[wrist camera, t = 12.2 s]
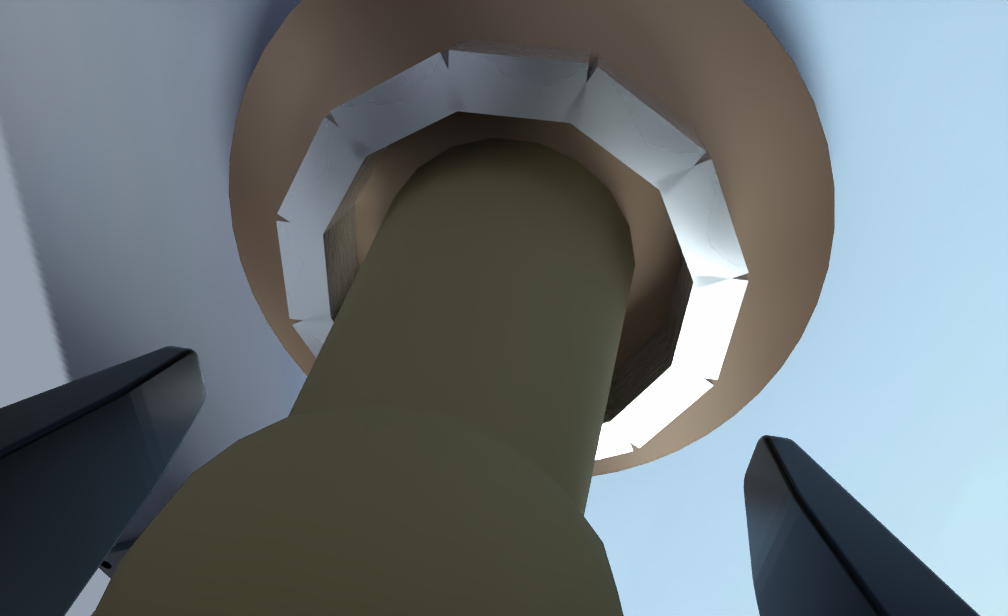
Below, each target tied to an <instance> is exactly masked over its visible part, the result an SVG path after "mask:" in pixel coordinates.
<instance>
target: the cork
mask: <svg viewBox="0 0 1008 616" xmlns="http://www.w3.org/2000/svg"><path fill="white" fill-rule="evenodd" d="M634 269H635V259H634V252H633V246H632V239H631V233H630V226H629V225H628V223H627V221H626V219H625V217H624V215H623V213H622V212H621V210H620V208H619V206H618V204H617V202H616V201H615V199H614V197H613V195H612V193H611V191H610V190H609V189H608V188H607V187H606V186H605V185H604V184H603V183H601V182H600V181H599V180H598V179H597V178H596V177H595V176H594V175H593V174H592V173H591V172H589V171H588V170H587V169H586V168H585V167H584V166H583V165H582V164H581V163H580V162H579V161H577V160H575V159H573V158H570V157H568V156H566V155H564V154H562V153H559V152H557V151H555V150H553V149H551V148H548V147H546V146H544V145H542V144H540V143H537V142H528V141H519V140H510V139H500V138H490V139H485V140H481V141H476V142H471V143H467V144H462V145H458V146H453V147H451V148H449V149H447V150H446V151H444V152H442V153H441V154H439V155H438V156H436V157H434V158H433V159H431V160H430V161H428V162H426V163H425V164H423V165H421V166H420V167H418V168H417V169H416V170H415V172H414V173H413V174H412V176H411V177H410V178H409V179H408V181H407V182H406V183H405V185H404V186H403V187H402V188H401V190H400V191H399V192H398V193H397V195H396V196H395V197H394V199H393V201H392V203H391V205H390V207H389V209H388V211H387V214H386V216H385V218H384V220H383V222H382V224H381V226H380V228H379V230H378V232H377V234H376V236H375V238H374V240H373V242H372V244H371V247H370V249H369V251H368V253H367V255H366V257H365V259H364V261H363V263H362V265H361V267H360V269H359V271H358V273H357V275H356V278H355V280H354V282H353V284H352V286H351V288H350V290H349V292H348V294H347V296H346V298H345V300H344V302H343V304H342V306H341V309H340V311H339V313H338V315H337V317H336V319H335V321H334V323H333V325H332V327H331V329H330V331H329V333H328V335H327V337H326V339H325V342H324V344H323V346H322V348H321V350H320V352H319V354H318V356H317V358H316V360H315V362H314V364H313V366H312V368H311V370H310V373H309V375H308V377H307V379H306V381H305V383H304V385H303V387H302V389H301V391H300V393H299V395H298V397H297V399H296V401H295V404H294V406H293V408H292V410H291V412H290V414H289V416H288V417H287V418H285V419H283V420H280V421H278V422H276V423H274V424H272V425H270V426H267V427H265V428H263V429H261V430H259V431H257V432H255V433H252V434H250V435H248V436H246V437H244V438H242V439H240V440H238V441H236V442H235V443H234V444H232V445H231V446H230V447H228V448H227V449H225V450H224V451H223V452H221V453H220V454H218V455H217V456H216V457H214V458H213V459H211V460H210V461H209V462H207V463H206V464H205V465H203V466H202V467H200V468H199V469H198V470H196V471H195V472H193V473H192V475H191V476H190V477H189V478H188V479H187V480H186V482H185V483H184V484H183V485H182V486H181V488H180V489H179V490H178V491H177V492H176V493H175V495H174V496H173V497H172V498H171V499H170V500H169V502H168V503H167V504H166V505H165V506H164V508H163V509H162V510H161V511H160V512H159V513H158V515H157V516H156V517H155V518H154V519H153V520H152V522H151V523H150V524H149V525H148V527H147V528H146V529H145V530H144V532H143V533H142V534H141V535H140V537H139V538H138V539H137V540H136V542H135V543H134V544H133V545H132V547H131V548H130V549H129V550H128V552H127V553H126V554H125V555H124V556H123V558H122V559H121V560H120V562H119V564H118V566H117V568H116V570H115V572H114V574H113V576H112V578H111V580H110V582H109V584H108V586H107V588H106V590H105V592H104V594H103V596H102V598H101V600H100V602H99V604H98V606H97V608H96V610H95V612H94V614H93V616H623V612H622V608H621V603H620V599H619V595H618V591H617V588H616V585H615V581H614V578H613V574H612V571H611V568H610V564H609V561H608V558H607V554H606V551H605V548H604V544H603V542H602V541H601V539H600V538H599V537H598V535H597V534H596V532H595V531H594V530H593V528H592V527H591V526H590V524H589V523H588V521H587V520H586V519H585V517H584V512H585V507H586V502H587V497H588V493H589V488H590V483H591V478H592V473H593V468H594V463H595V459H596V454H597V449H598V444H599V439H600V434H601V429H602V424H603V420H604V415H605V410H606V405H607V400H608V395H609V390H610V386H611V381H612V376H613V371H614V366H615V361H616V356H617V351H618V347H619V342H620V337H621V332H622V327H623V322H624V317H625V312H626V308H627V303H628V298H629V293H630V288H631V283H632V278H633V273H634Z"/></svg>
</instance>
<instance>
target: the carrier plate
mask: <svg viewBox="0 0 1008 616" xmlns="http://www.w3.org/2000/svg"><path fill="white" fill-rule="evenodd" d="M469 39H472V40H483V41H493V42H504V43H515V44H525V45H536V46H547V47H558V48H568V49H579V50H590V51H591V54H590V61H589V67H590V66H591V64H592V63H593V61H594V60H595V59H596V57H597V56H598V54H600V55H601V56H602V57H604V58H605V59H606V60H607V61H609V62H610V63H611V64H613V65H614V66H615V67H616V68H618V69H619V70H620V71H622V72H623V73H624V74H625V75H627V76H628V77H629V78H630V79H632V80H633V81H634V82H636V83H637V84H638V85H639V86H641V87H642V88H643V89H645V90H646V91H647V92H648V93H650V94H651V95H652V96H653V97H655V98H656V99H657V100H659V101H660V102H661V103H662V104H664V105H665V106H666V107H668V108H669V109H670V110H671V111H673V112H674V113H675V114H676V115H678V116H679V117H680V118H682V119H683V120H684V121H685V122H687V123H688V124H689V125H690V126H692V127H693V128H694V130H695V132H696V133H697V135H699V137H700V139H701V141H702V143H703V144H704V146H705V148H706V150H707V152H708V153H709V155H710V157H711V159H712V162H713V165H714V168H715V171H716V174H717V177H718V180H719V183H720V187H721V190H722V193H723V196H724V199H725V202H726V205H727V208H728V211H729V214H730V217H731V220H732V223H733V227H734V230H735V233H736V236H737V239H738V242H739V245H740V248H741V251H742V254H743V257H744V260H745V264H746V267H747V270H748V273H747V274H746V276H747V278H748V284H747V287H746V290H745V293H744V297H743V300H742V303H741V306H740V309H739V312H738V316H737V319H736V322H735V325H734V328H733V331H732V334H731V338H730V341H729V344H728V347H727V350H726V353H725V357H724V360H723V363H722V366H721V369H720V372H719V376H718V379H717V380H716V379H712V382H713V386H712V387H711V388H710V389H708V390H707V391H706V392H705V393H704V394H702V395H701V396H700V397H699V398H698V399H697V400H695V401H694V402H693V403H692V404H691V405H689V406H688V407H687V408H686V409H685V410H684V411H682V412H681V413H680V414H679V415H678V416H676V417H675V418H674V419H673V420H672V421H671V422H669V423H668V424H667V425H666V426H665V427H663V428H662V429H661V430H660V431H659V432H658V433H656V434H655V435H654V436H653V437H652V438H650V439H649V440H648V441H647V442H646V443H645V444H643V445H642V446H641V447H640V448H638V447H637V446H635V445H634V444H633V451H631V452H627V453H622V454H618V455H614V456H610V457H606V458H602V459H598V460H595V463H594V468H593V473H592V476H596V475H602V474H607V473H613V472H618V471H621V470H625V469H628V468H632V467H635V466H639V465H642V464H646V463H649V462H651V461H654V460H656V459H659V458H661V457H664V456H666V455H669V454H671V453H673V452H676V451H678V450H680V449H682V448H684V447H686V446H687V445H689V444H691V443H693V442H695V441H697V440H699V439H700V438H702V437H704V436H706V435H707V434H709V433H710V432H712V431H713V430H715V429H716V428H717V427H719V426H720V425H722V424H723V423H725V422H726V421H727V420H729V419H730V418H732V417H733V416H734V415H735V414H737V413H738V412H739V411H740V410H741V409H742V408H743V407H744V406H745V405H747V404H748V403H749V402H750V401H751V400H752V399H753V398H754V397H755V396H757V395H758V394H759V393H760V392H761V390H762V389H763V388H764V387H765V386H766V385H767V383H768V382H769V381H770V380H771V379H772V378H773V377H774V375H775V374H776V373H777V372H778V371H779V370H780V368H781V367H782V366H783V364H784V363H785V361H786V360H787V358H788V357H789V355H790V354H791V352H792V351H793V349H794V348H795V346H796V344H797V343H798V341H799V340H800V338H801V337H802V335H803V333H804V330H805V328H806V326H807V324H808V322H809V320H810V318H811V316H812V314H813V311H814V309H815V307H816V305H817V303H818V299H819V296H820V293H821V290H822V286H823V283H824V280H825V277H826V274H827V270H828V267H829V260H830V254H831V247H832V241H833V234H834V181H833V175H832V169H831V162H830V156H829V150H828V144H827V141H826V138H825V135H824V132H823V129H822V125H821V122H820V119H819V116H818V113H817V110H816V107H815V104H814V101H813V99H812V97H811V95H810V93H809V91H808V89H807V87H806V86H805V84H804V82H803V80H802V78H801V76H800V74H799V72H798V70H797V68H796V66H795V64H794V62H793V60H792V59H791V57H790V56H789V55H788V53H787V52H786V51H785V49H784V48H783V47H782V45H781V44H780V42H779V41H778V40H777V38H776V37H775V36H774V34H773V33H772V31H771V30H770V29H769V27H768V26H767V25H766V23H765V22H764V21H763V20H762V19H761V18H760V17H759V16H758V15H757V14H756V13H755V12H754V11H753V10H752V9H751V8H750V7H749V6H748V5H747V4H746V3H745V2H744V1H743V0H301V1H300V3H299V4H298V5H297V6H296V7H295V8H294V9H293V10H292V11H291V12H290V13H289V14H288V15H287V17H286V18H285V20H284V21H283V23H282V24H281V25H280V27H279V28H278V30H277V31H276V33H275V34H274V36H273V37H272V38H271V40H270V41H269V43H268V44H267V46H266V47H265V49H264V51H263V53H262V55H261V57H260V59H259V61H258V63H257V65H256V67H255V69H254V71H253V73H252V75H251V77H250V79H249V81H248V83H247V86H246V90H245V93H244V96H243V99H242V102H241V105H240V109H239V112H238V115H237V118H236V122H235V128H234V134H233V141H232V147H231V153H230V171H229V198H230V207H231V216H232V225H233V231H234V235H235V239H236V243H237V248H238V252H239V256H240V260H241V263H242V266H243V269H244V271H245V274H246V277H247V279H248V282H249V285H250V287H251V290H252V293H253V295H254V297H255V299H256V301H257V303H258V305H259V307H260V309H261V311H262V313H263V314H264V316H265V318H266V320H267V322H268V324H269V325H270V327H271V328H272V330H273V332H274V333H275V335H276V336H277V338H278V339H279V341H280V342H281V344H282V345H283V347H284V348H285V350H286V351H287V352H288V353H289V355H290V356H291V357H292V358H293V359H294V361H295V362H296V363H297V364H298V366H299V367H300V368H301V369H302V370H303V372H304V373H305V374H306V375H307V376H308V375H309V373H310V370H311V368H312V366H313V364H314V362H315V360H316V357H315V356H314V355H313V353H312V352H311V350H310V349H309V348H308V346H307V345H306V343H305V342H304V341H303V339H302V338H301V336H300V335H299V334H298V332H297V331H296V330H295V328H294V327H293V325H292V324H293V323H294V322H295V321H296V319H289V311H288V304H287V297H286V289H285V282H284V274H283V267H282V260H281V252H280V245H279V238H278V230H277V223H276V220H278V219H279V218H280V217H282V216H280V215H278V214H277V213H278V211H279V209H280V207H281V205H282V203H283V201H284V199H285V197H286V194H287V192H288V190H289V188H290V186H291V184H292V182H293V180H294V178H295V176H296V174H297V172H298V170H299V168H300V166H301V164H302V162H303V159H304V157H305V155H306V153H307V151H308V149H309V147H310V145H311V143H312V141H313V139H314V137H315V135H316V133H317V131H318V129H319V126H320V124H321V122H322V120H323V118H324V117H325V116H327V115H329V114H331V113H330V111H331V110H333V109H335V108H336V107H338V106H340V105H342V104H344V103H346V102H348V101H349V100H351V99H353V98H355V97H357V96H359V95H361V94H362V93H364V92H366V91H368V90H370V89H372V88H374V87H375V86H377V85H379V84H381V83H383V82H385V81H387V80H388V79H390V78H392V77H394V76H396V75H398V74H400V73H401V72H403V71H405V70H407V69H409V68H411V67H413V66H415V65H416V64H418V63H420V62H422V61H424V60H426V59H428V58H429V57H431V56H433V55H435V54H437V53H439V52H441V51H443V50H445V49H447V48H449V47H450V46H452V45H454V44H456V43H458V42H460V41H462V43H463V42H465V41H467V40H469ZM490 138H500V139H510V140H519V141H528V142H537V143H540V144H542V145H544V146H546V147H548V148H551V149H553V150H555V151H557V152H559V153H562V154H564V155H566V156H568V157H570V158H573V159H575V160H577V161H579V162H580V163H581V164H582V165H583V166H584V167H585V168H586V169H587V170H588V171H589V172H591V173H592V174H593V175H594V176H595V177H596V178H597V179H598V180H599V181H600V182H601V183H603V184H604V185H605V186H606V187H607V188H608V189H609V190H610V191H611V193H612V195H613V197H614V199H615V201H616V202H617V204H618V206H619V208H620V210H621V212H622V213H623V215H624V217H625V219H626V221H627V223H628V225H629V226H630V233H631V239H632V246H633V252H634V259H635V269H634V273H633V278H632V283H631V288H630V293H629V298H628V303H627V308H626V312H625V317H624V322H623V327H622V332H621V337H620V342H619V347H618V351H617V356H616V361H615V366H614V371H615V370H616V369H617V368H618V367H619V366H620V365H621V364H623V363H624V362H625V361H626V360H627V359H628V358H629V357H630V356H631V355H632V354H633V353H634V352H635V351H636V350H637V349H638V348H639V347H640V346H641V345H642V344H643V343H644V342H645V341H646V340H647V339H648V338H649V337H650V336H651V335H652V334H653V333H654V332H655V331H657V330H658V329H659V328H660V327H661V326H662V325H663V324H664V323H665V319H666V315H667V311H668V306H669V302H670V298H671V294H672V290H673V286H674V282H675V278H676V274H677V270H678V266H679V261H680V257H681V253H682V249H681V247H680V244H679V241H678V239H677V236H676V233H675V230H674V228H673V225H672V222H671V220H670V217H669V214H668V212H667V209H666V206H665V204H664V201H663V198H662V195H661V193H660V190H659V189H658V188H656V187H655V186H654V185H652V184H651V183H650V182H648V181H647V180H646V179H644V178H643V177H642V176H640V175H639V174H638V173H636V172H635V171H634V170H632V169H631V168H630V167H628V166H627V165H626V164H624V163H623V162H622V161H620V160H619V159H618V158H616V157H615V156H614V155H612V154H611V153H610V152H608V151H607V150H606V149H604V148H603V147H602V146H600V145H599V144H598V143H596V142H595V141H594V140H592V139H591V138H590V137H588V136H587V135H586V134H584V133H583V132H582V131H580V130H579V129H578V128H576V127H575V126H574V125H572V124H571V123H565V122H556V121H546V120H537V119H527V118H518V117H508V116H499V115H489V114H480V113H470V112H461V111H457V112H455V113H453V114H451V115H449V116H447V117H445V118H443V119H440V120H438V121H436V122H434V123H432V124H430V125H428V126H426V127H424V128H422V129H420V130H418V131H416V132H414V133H412V134H410V135H408V136H406V137H404V138H402V139H400V140H398V141H396V142H394V143H392V144H390V145H388V146H387V148H386V150H385V152H384V153H383V155H382V157H381V159H380V161H379V162H378V164H377V166H376V168H375V169H374V171H373V173H372V175H371V177H370V178H369V180H368V182H367V184H366V185H365V187H364V189H363V191H362V192H361V194H360V196H359V198H358V200H357V201H356V203H355V221H356V237H357V253H358V268H359V269H360V267H361V265H362V263H363V261H364V259H365V257H366V255H367V253H368V251H369V249H370V247H371V244H372V242H373V240H374V238H375V236H376V234H377V232H378V230H379V228H380V226H381V224H382V222H383V220H384V218H385V216H386V214H387V211H388V209H389V207H390V205H391V203H392V201H393V199H394V197H395V196H396V195H397V193H398V192H399V191H400V190H401V188H402V187H403V186H404V185H405V183H406V182H407V181H408V179H409V178H410V177H411V176H412V174H413V173H414V172H415V170H416V169H417V168H418V167H420V166H421V165H423V164H425V163H426V162H428V161H430V160H431V159H433V158H434V157H436V156H438V155H439V154H441V153H442V152H444V151H446V150H447V149H449V148H451V147H453V146H458V145H462V144H467V143H471V142H476V141H481V140H485V139H490ZM614 371H613V372H614Z"/></svg>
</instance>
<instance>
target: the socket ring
mask: <svg viewBox="0 0 1008 616" xmlns="http://www.w3.org/2000/svg"><path fill="white" fill-rule="evenodd" d="M590 54H591V51H590V50H579V49H568V48H558V47H547V46H536V45H525V44H515V43H504V42H493V41H483V40H472V39H469V40H467V41H465V42H463V43H462V41H460V42H458V43H456V44H454V45H452V46H450V47H449V48H447V49H445V50H443V51H441V52H439V53H437V54H435V55H433V56H431V57H429V58H428V59H426V60H424V61H422V62H420V63H418V64H416V65H415V66H413V67H411V68H409V69H407V70H405V71H403V72H401V73H400V74H398V75H396V76H394V77H392V78H390V79H388V80H387V81H385V82H383V83H381V84H379V85H377V86H375V87H374V88H372V89H370V90H368V91H366V92H364V93H362V94H361V95H359V96H357V97H355V98H353V99H351V100H349V101H348V102H346V103H344V104H342V105H340V106H338V107H336V108H335V109H333V110H331V111H330V113H331V114H329V115H327V116H325V117H324V118H323V120H322V122H321V124H320V126H319V129H318V131H317V133H316V135H315V137H314V139H313V141H312V143H311V145H310V147H309V149H308V151H307V153H306V155H305V157H304V159H303V162H302V164H301V166H300V168H299V170H298V172H297V174H296V176H295V178H294V180H293V182H292V184H291V186H290V188H289V190H288V192H287V194H286V197H285V199H284V201H283V203H282V205H281V207H280V209H279V211H278V213H277V214H278V215H280V216H282V217H280V218H279V219H278V220H276V223H277V230H278V238H279V245H280V252H281V260H282V267H283V274H284V282H285V289H286V297H287V304H288V311H289V319H296V321H295V322H294V323H293V324H292V325H293V327H294V328H295V330H296V331H297V332H298V334H299V335H300V336H301V338H302V339H303V341H304V342H305V343H306V345H307V346H308V348H309V349H310V350H311V352H312V353H313V355H314V356H315V357H316V358H317V356H318V354H319V352H320V350H321V348H322V346H323V344H324V342H325V339H326V337H327V335H328V333H329V331H330V329H331V327H332V325H333V323H334V321H335V319H336V317H337V315H338V313H339V311H340V309H341V306H342V304H343V302H344V300H345V298H346V296H347V294H348V292H349V290H350V288H351V286H352V284H353V282H354V280H355V278H356V275H357V273H358V271H359V268H358V253H357V237H356V221H355V203H356V201H357V200H358V198H359V196H360V194H361V192H362V191H363V189H364V187H365V185H366V184H367V182H368V180H369V178H370V177H371V175H372V173H373V171H374V169H375V168H376V166H377V164H378V162H379V161H380V159H381V157H382V155H383V153H384V152H385V150H386V148H387V146H388V145H390V144H392V143H394V142H396V141H398V140H400V139H402V138H404V137H406V136H408V135H410V134H412V133H414V132H416V131H418V130H420V129H422V128H424V127H426V126H428V125H430V124H432V123H434V122H436V121H438V120H440V119H443V118H445V117H447V116H449V115H451V114H453V113H455V112H457V111H461V112H470V113H480V114H489V115H499V116H508V117H518V118H527V119H537V120H546V121H556V122H565V123H571V124H572V125H574V126H575V127H576V128H578V129H579V130H580V131H582V132H583V133H584V134H586V135H587V136H588V137H590V138H591V139H592V140H594V141H595V142H596V143H598V144H599V145H600V146H602V147H603V148H604V149H606V150H607V151H608V152H610V153H611V154H612V155H614V156H615V157H616V158H618V159H619V160H620V161H622V162H623V163H624V164H626V165H627V166H628V167H630V168H631V169H632V170H634V171H635V172H636V173H638V174H639V175H640V176H642V177H643V178H644V179H646V180H647V181H648V182H650V183H651V184H652V185H654V186H655V187H656V188H658V189H659V190H660V193H661V195H662V198H663V201H664V204H665V206H666V209H667V212H668V214H669V217H670V220H671V222H672V225H673V228H674V230H675V233H676V236H677V239H678V241H679V244H680V247H681V249H682V253H681V257H680V261H679V266H678V270H677V274H676V278H675V282H674V286H673V290H672V294H671V298H670V302H669V306H668V311H667V315H666V319H665V323H664V324H663V325H662V326H661V327H660V328H659V329H658V330H657V331H655V332H654V333H653V334H652V335H651V336H650V337H649V338H648V339H647V340H646V341H645V342H644V343H643V344H642V345H641V346H640V347H639V348H638V349H637V350H636V351H635V352H634V353H633V354H632V355H631V356H630V357H629V358H628V359H627V360H626V361H625V362H624V363H623V364H621V365H620V366H619V367H618V368H617V369H616V370H615V371H614V372H613V376H612V381H611V386H610V390H609V395H608V400H607V405H606V410H605V415H604V420H603V424H602V429H601V434H600V439H599V444H598V449H597V454H596V459H595V460H598V459H602V458H606V457H610V456H614V455H618V454H622V453H627V452H631V451H633V444H634V445H635V446H637V447H638V448H640V447H641V446H642V445H643V444H645V443H646V442H647V441H648V440H649V439H650V438H652V437H653V436H654V435H655V434H656V433H658V432H659V431H660V430H661V429H662V428H663V427H665V426H666V425H667V424H668V423H669V422H671V421H672V420H673V419H674V418H675V417H676V416H678V415H679V414H680V413H681V412H682V411H684V410H685V409H686V408H687V407H688V406H689V405H691V404H692V403H693V402H694V401H695V400H697V399H698V398H699V397H700V396H701V395H702V394H704V393H705V392H706V391H707V390H708V389H710V388H711V387H712V386H713V382H712V379H716V380H717V379H718V376H719V372H720V369H721V366H722V363H723V360H724V357H725V353H726V350H727V347H728V344H729V341H730V338H731V334H732V331H733V328H734V325H735V322H736V319H737V316H738V312H739V309H740V306H741V303H742V300H743V297H744V293H745V290H746V287H747V284H748V278H747V276H746V274H747V273H748V270H747V267H746V264H745V260H744V257H743V254H742V251H741V248H740V245H739V242H738V239H737V236H736V233H735V230H734V227H733V223H732V220H731V217H730V214H729V211H728V208H727V205H726V202H725V199H724V196H723V193H722V190H721V187H720V183H719V180H718V177H717V174H716V171H715V168H714V165H713V162H712V159H711V157H710V155H709V153H708V152H707V150H706V148H705V146H704V144H703V143H702V141H701V139H700V137H699V135H697V133H696V132H695V130H694V128H693V127H692V126H690V125H689V124H688V123H687V122H685V121H684V120H683V119H682V118H680V117H679V116H678V115H676V114H675V113H674V112H673V111H671V110H670V109H669V108H668V107H666V106H665V105H664V104H662V103H661V102H660V101H659V100H657V99H656V98H655V97H653V96H652V95H651V94H650V93H648V92H647V91H646V90H645V89H643V88H642V87H641V86H639V85H638V84H637V83H636V82H634V81H633V80H632V79H630V78H629V77H628V76H627V75H625V74H624V73H623V72H622V71H620V70H619V69H618V68H616V67H615V66H614V65H613V64H611V63H610V62H609V61H607V60H606V59H605V58H604V57H602V56H601V55H600V54H598V56H597V57H596V59H595V60H594V61H593V63H592V64H591V66H590V67H589V61H590Z"/></svg>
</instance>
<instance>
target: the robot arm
mask: <svg viewBox="0 0 1008 616" xmlns="http://www.w3.org/2000/svg"><path fill="white" fill-rule="evenodd" d="M205 395H206V387H205V383H204V379H203V375H202V370H201V366H200V362H199V358H198V355H197V354H196V352H195V351H194V350H192V349H188V348H181V347H175V346H167V347H164V348H161V349H159V350H156V351H153V352H151V353H148V354H145V355H142V356H140V357H137V358H134V359H132V360H129V361H126V362H124V363H121V364H118V365H116V366H113V367H110V368H107V369H105V370H102V371H99V372H97V373H94V374H91V375H89V376H86V377H83V378H81V379H78V380H75V381H73V382H70V383H67V384H64V385H62V386H59V387H57V388H54V389H51V390H48V391H46V392H43V393H40V394H38V395H35V396H32V397H29V398H27V399H24V400H21V401H19V402H16V403H14V404H11V405H8V406H5V407H3V408H0V616H65V614H66V613H67V611H68V610H69V608H70V607H71V606H72V604H73V603H74V601H75V600H76V599H77V597H78V596H79V594H80V593H81V591H82V590H83V589H84V587H85V586H86V584H87V583H88V581H89V580H90V579H91V577H92V576H93V575H94V573H95V572H96V570H97V569H98V567H99V568H100V569H101V570H102V571H103V572H104V573H105V574H106V575H107V576H109V577H110V578H112V576H113V574H114V572H115V570H116V568H117V566H118V564H119V562H120V560H121V559H122V558H123V556H124V555H125V554H126V553H127V552H128V550H129V549H130V548H131V547H132V545H133V544H134V543H135V542H136V540H135V541H131V542H128V543H124V544H120V545H116V546H114V545H115V543H116V542H117V541H118V539H119V538H120V536H121V535H122V534H123V532H124V531H125V529H126V528H127V526H128V525H129V524H130V522H131V521H132V519H133V518H134V517H135V515H136V514H137V512H138V511H139V509H140V508H141V507H142V505H143V504H144V502H145V501H146V500H147V498H148V497H149V495H150V494H151V492H152V491H153V489H154V488H155V486H156V485H157V483H158V482H159V480H160V479H161V477H162V475H163V474H164V472H165V470H166V469H167V467H168V465H169V463H170V462H171V460H172V458H173V456H174V454H175V453H176V451H177V449H178V447H179V446H180V444H181V442H182V440H183V439H184V437H185V435H186V433H187V431H188V430H189V428H190V426H191V424H192V423H193V421H194V419H195V417H196V416H197V414H198V412H199V410H200V408H201V407H202V405H203V403H204V400H205ZM744 497H745V507H746V517H747V527H748V537H749V547H750V557H751V567H752V576H753V584H754V589H755V595H756V600H757V605H758V609H759V614H760V616H980V615H979V614H978V613H977V612H976V611H975V610H973V609H972V608H971V607H970V606H969V605H968V604H967V603H966V602H965V601H964V600H963V599H962V598H961V597H960V596H958V595H957V594H956V593H955V592H954V591H953V590H952V589H951V588H950V587H949V586H948V585H947V584H946V583H945V582H944V581H942V580H941V579H940V578H939V577H938V576H937V575H936V574H935V573H934V572H933V571H932V570H931V569H930V568H929V567H928V566H926V565H925V564H924V563H923V562H922V561H921V560H920V559H919V558H918V557H917V556H916V555H915V554H914V553H913V552H911V551H910V550H909V549H908V548H907V547H906V546H905V545H904V544H903V543H902V542H901V541H900V540H899V539H898V538H897V537H895V536H894V535H893V534H892V533H891V532H890V531H889V530H888V529H887V528H886V527H885V526H884V525H883V524H882V523H881V522H879V521H878V520H877V519H876V518H875V517H874V516H873V515H872V514H871V513H870V512H869V511H868V510H867V509H866V508H864V507H863V506H862V505H861V504H860V503H859V502H858V501H857V500H856V499H855V498H854V497H853V496H852V495H851V494H850V493H848V492H847V491H846V490H845V489H844V488H843V487H842V486H841V485H840V484H839V483H838V482H837V481H836V480H835V479H834V478H832V477H831V476H830V475H829V474H828V473H827V472H826V471H825V470H824V469H823V468H822V467H821V466H820V465H819V464H817V463H816V462H815V461H814V460H813V459H812V458H811V457H810V456H809V455H808V454H807V453H806V452H805V451H804V450H803V449H801V448H800V447H799V446H798V445H797V444H796V443H795V442H794V441H792V440H791V439H788V438H782V437H775V436H769V435H765V436H762V437H761V438H760V439H759V441H758V442H757V445H756V447H755V450H754V453H753V455H752V458H751V460H750V463H749V466H748V468H747V471H746V474H745V478H744ZM94 612H95V611H94ZM94 612H93V614H94ZM93 614H92V615H91V616H93Z"/></svg>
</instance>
